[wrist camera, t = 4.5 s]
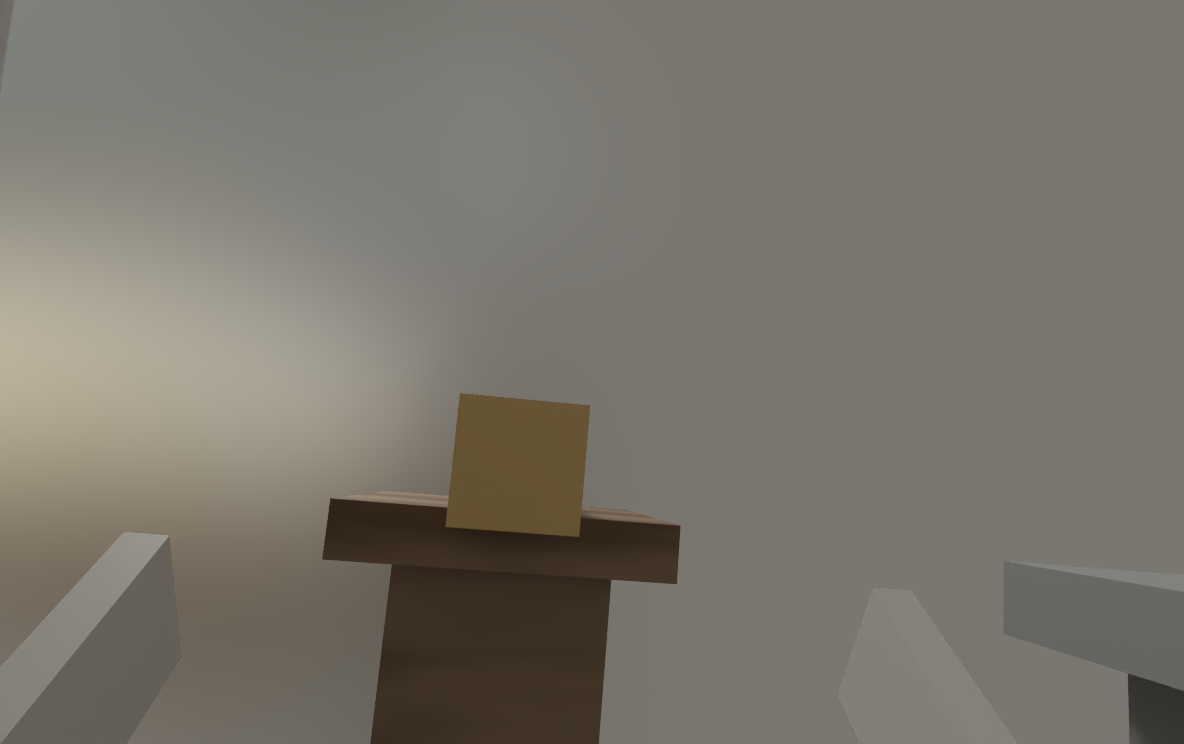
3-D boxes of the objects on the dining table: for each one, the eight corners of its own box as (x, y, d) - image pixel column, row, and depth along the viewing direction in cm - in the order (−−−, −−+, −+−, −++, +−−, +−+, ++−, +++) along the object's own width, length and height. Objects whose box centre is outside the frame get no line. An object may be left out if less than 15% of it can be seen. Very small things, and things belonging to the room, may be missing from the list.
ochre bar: (579, 536, 17) (590, 405, 17) (445, 527, 16) (460, 393, 17) (536, 502, 38) (541, 444, 39) (478, 497, 38) (484, 439, 39)
